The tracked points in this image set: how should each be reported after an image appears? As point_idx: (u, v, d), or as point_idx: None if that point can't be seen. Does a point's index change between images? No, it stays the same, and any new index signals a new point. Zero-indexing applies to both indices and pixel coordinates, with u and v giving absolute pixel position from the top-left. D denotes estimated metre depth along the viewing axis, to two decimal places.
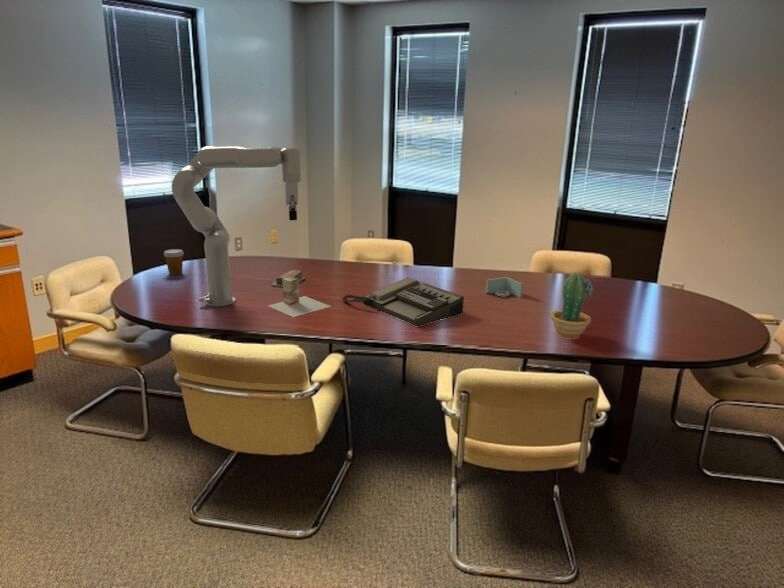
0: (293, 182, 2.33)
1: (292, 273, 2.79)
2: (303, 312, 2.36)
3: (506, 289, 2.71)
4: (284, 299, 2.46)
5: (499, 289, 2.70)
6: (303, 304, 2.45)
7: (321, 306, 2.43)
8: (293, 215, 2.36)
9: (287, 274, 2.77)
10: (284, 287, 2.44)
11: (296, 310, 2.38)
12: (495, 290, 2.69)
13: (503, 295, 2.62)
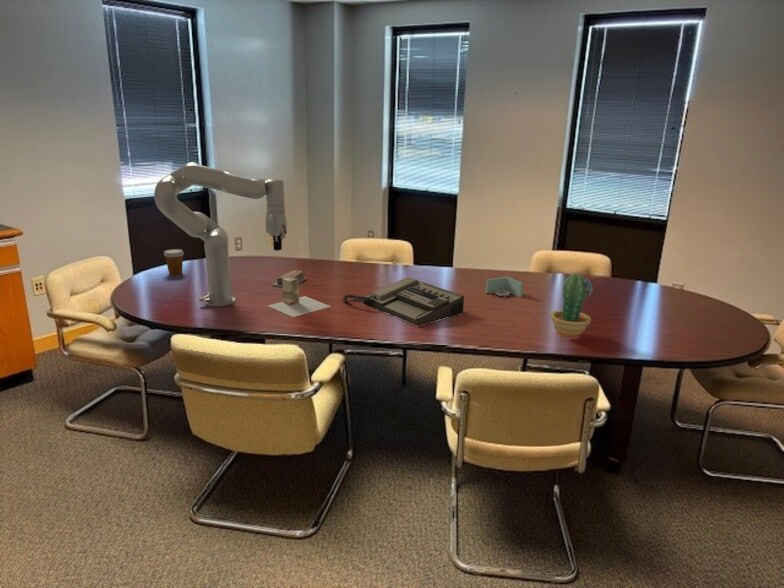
0: (282, 212, 2.39)
1: (293, 273, 2.79)
2: (303, 312, 2.36)
3: (506, 289, 2.71)
4: (284, 299, 2.46)
5: (499, 289, 2.70)
6: (303, 304, 2.45)
7: (321, 306, 2.43)
8: (279, 245, 2.45)
9: (288, 274, 2.76)
10: (284, 287, 2.44)
11: (296, 310, 2.38)
12: (495, 290, 2.69)
13: (503, 295, 2.63)
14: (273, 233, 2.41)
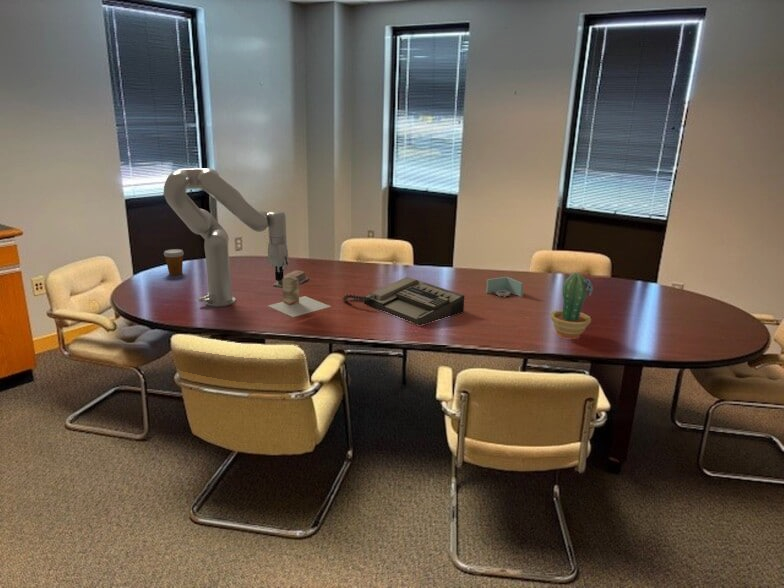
0: (284, 244, 2.43)
1: (295, 273, 2.78)
2: (303, 312, 2.36)
3: (506, 289, 2.71)
4: (284, 299, 2.46)
5: (499, 289, 2.70)
6: (303, 304, 2.45)
7: (321, 306, 2.43)
8: (281, 275, 2.49)
9: (290, 274, 2.76)
10: (284, 287, 2.44)
11: (296, 310, 2.38)
12: (495, 290, 2.69)
13: (503, 294, 2.63)
14: (275, 264, 2.45)
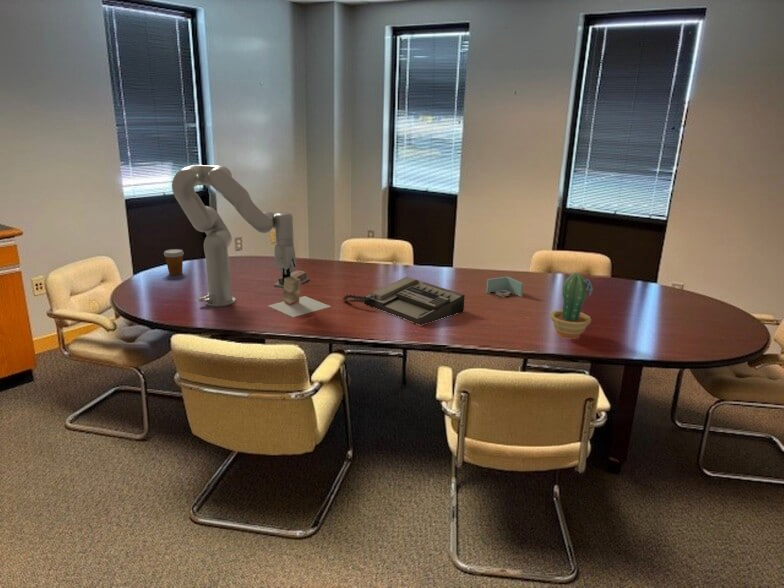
0: (291, 246, 2.39)
1: (296, 273, 2.78)
2: (303, 312, 2.36)
3: (506, 288, 2.71)
4: (284, 298, 2.46)
5: (499, 288, 2.71)
6: (303, 304, 2.45)
7: (321, 306, 2.43)
8: None
9: (290, 274, 2.76)
10: (285, 287, 2.43)
11: (296, 310, 2.38)
12: (495, 289, 2.70)
13: (503, 294, 2.63)
14: (282, 266, 2.41)
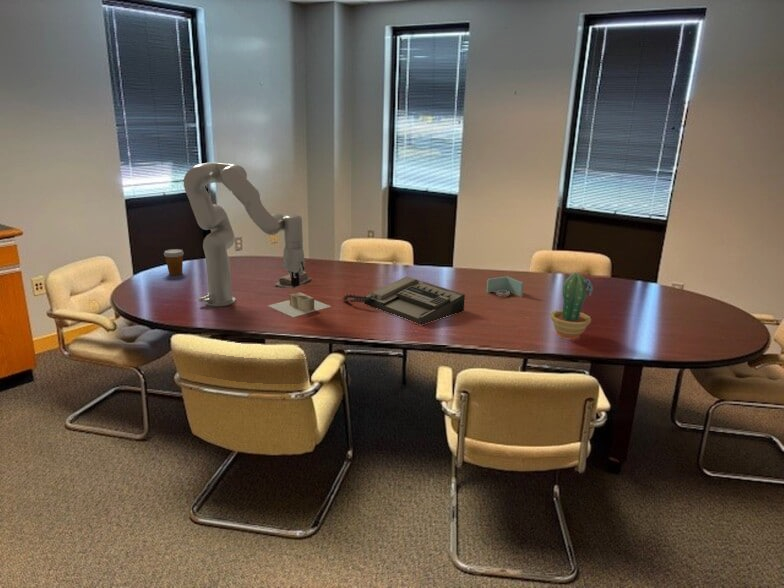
0: (300, 249, 2.35)
1: None
2: (303, 312, 2.36)
3: (506, 288, 2.72)
4: (291, 297, 2.42)
5: (499, 288, 2.71)
6: None
7: (321, 306, 2.43)
8: (297, 281, 2.41)
9: None
10: (299, 301, 2.38)
11: (296, 310, 2.38)
12: (496, 289, 2.70)
13: (504, 294, 2.63)
14: (291, 269, 2.37)
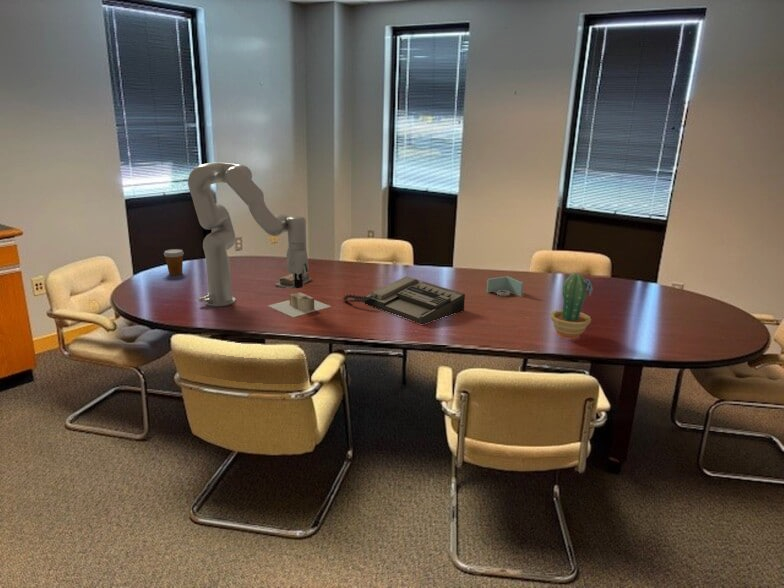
0: (304, 250, 2.33)
1: None
2: (303, 312, 2.36)
3: (507, 288, 2.72)
4: (291, 297, 2.42)
5: (500, 288, 2.71)
6: None
7: (321, 306, 2.43)
8: (300, 283, 2.39)
9: (292, 275, 2.76)
10: (299, 301, 2.38)
11: (296, 310, 2.38)
12: (496, 289, 2.70)
13: (504, 294, 2.64)
14: (294, 271, 2.35)
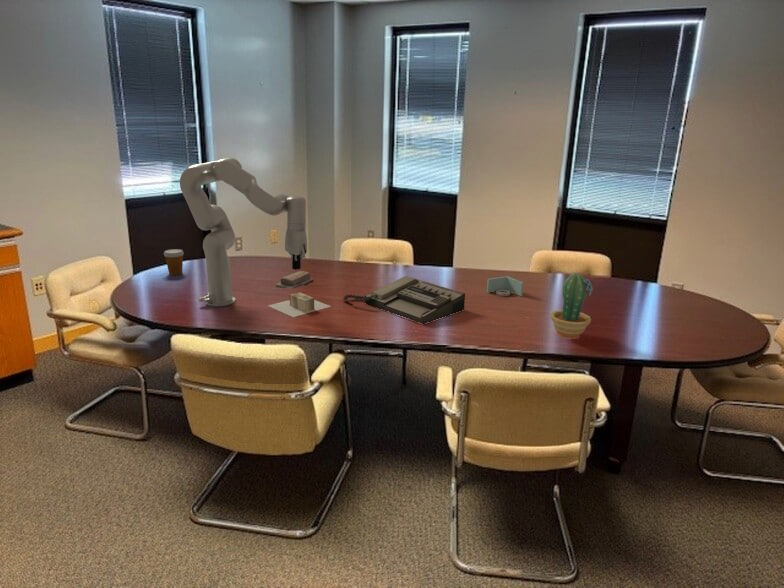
0: (303, 231, 2.31)
1: (299, 274, 2.78)
2: (303, 312, 2.36)
3: (507, 288, 2.72)
4: (291, 297, 2.42)
5: (500, 288, 2.71)
6: None
7: (321, 306, 2.43)
8: (298, 264, 2.37)
9: (293, 275, 2.76)
10: (299, 301, 2.38)
11: (296, 310, 2.38)
12: (496, 289, 2.70)
13: (504, 294, 2.64)
14: (293, 252, 2.33)
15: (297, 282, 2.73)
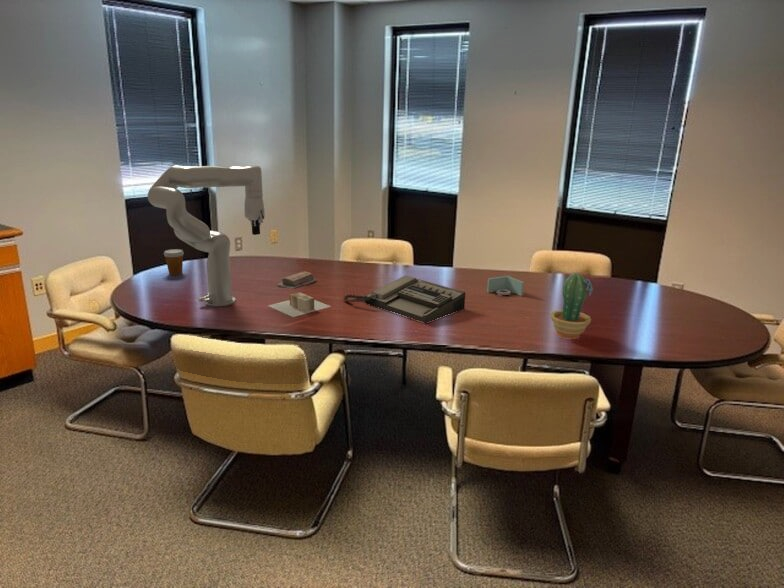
0: (260, 198, 2.49)
1: (301, 274, 2.77)
2: (303, 312, 2.36)
3: (507, 288, 2.73)
4: (291, 297, 2.42)
5: (500, 288, 2.72)
6: None
7: (321, 306, 2.43)
8: (258, 230, 2.55)
9: (295, 275, 2.75)
10: (299, 301, 2.38)
11: (296, 310, 2.38)
12: (496, 289, 2.71)
13: (504, 294, 2.65)
14: (251, 218, 2.51)
15: (299, 283, 2.72)
